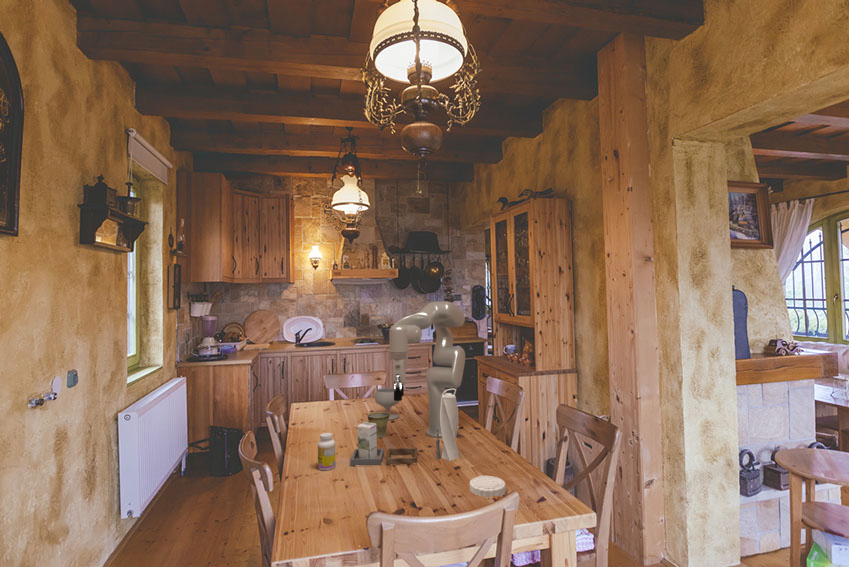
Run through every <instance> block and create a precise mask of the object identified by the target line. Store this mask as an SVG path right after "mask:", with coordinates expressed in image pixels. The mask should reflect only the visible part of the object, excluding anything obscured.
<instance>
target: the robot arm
mask: <svg viewBox="0 0 849 567" xmlns="http://www.w3.org/2000/svg"><path fill="white" fill-rule="evenodd" d="M465 321H466V317H465V313H464V311H463V310H462V308H460V307H458V306H457V305H456V304H454V303H453V302H450V301H447V300H446V301H445V300H444V301H441V300H440V301H431V302H428V303H427V304H426V305H424V306H423V307H422V308H421V309H420V310H419V311H418V312H416V313H413V314H410V315H408V316H404V317H402V318H400V319H399V320H397V321H396V322H395V323H393V325H392V326H391V327H389V332H388V336H389V361H391V362H392V385H393V386H394V387H393V388H394V401H399V402H401V401H403V396H404V395H405V391H404V390H405V389H404V388H405V387H404V386H405V385H406V383H407V365H406V364H407V362H406V361H408V360H409V352H408V348H409V344H414V343H415V344H416V343H418V342H420V340H421V339H422V336H423V331H424V330H427V329H429V328H430V327H431V326H432V325H433V328H434V330H435V334H436V340H435V345H434V348H433V349H434V350H433V356H432V360H433V363H434V364H436V365H438V366H432V367H430V368H428V369H427V370H426V373H425V380H426V386H427V392H428V394H427V396H428V429H426V430H425V435H427V436H428V437H432V438H437V428H438V433H439V434H438V438H443V437H442V433H441V426H440V407H441V398H442V394H443V392H444V391H445V390H446V389H458V388H460V386H461V385H462V382H463V375H464V369H465V363H466V351H465V349H463V347H461V346H457V345H456V346H455V345H453V343H454V335H453V333H452V332H451V329H449V328H459V327H462V326H463V325H464V324H465ZM422 330H423V331H422ZM444 366H445V367H444ZM446 366H448V367H446ZM449 366H450V367H449ZM446 393H448V391H446V392H445V393H444V394H443V395H445V394H446ZM458 430H460V428H459V426H458ZM458 430H457V431H458Z"/></svg>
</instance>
